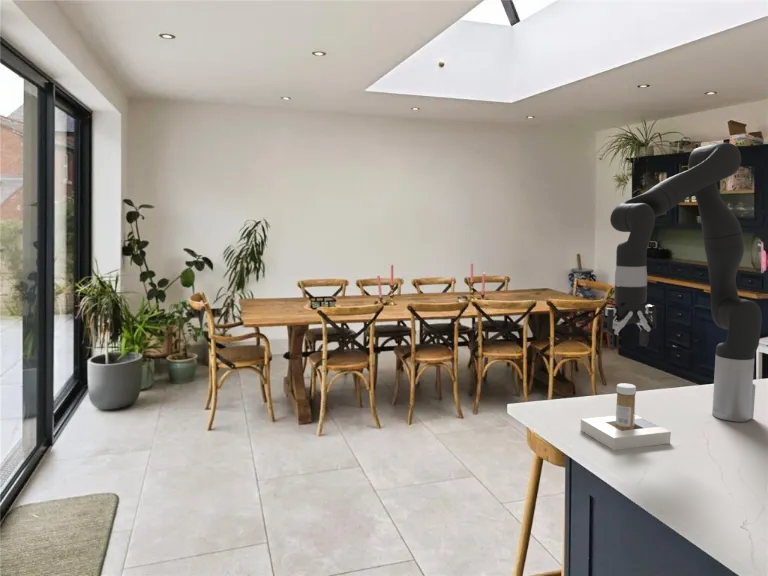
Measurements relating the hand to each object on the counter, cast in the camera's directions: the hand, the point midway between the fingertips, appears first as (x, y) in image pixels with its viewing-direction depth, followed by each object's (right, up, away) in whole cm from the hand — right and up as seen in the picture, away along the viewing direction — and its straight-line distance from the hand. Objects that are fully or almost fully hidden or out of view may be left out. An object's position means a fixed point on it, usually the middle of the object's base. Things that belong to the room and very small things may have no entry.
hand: (628, 346), depth 151 cm
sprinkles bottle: (-1, -23, 0) cm, 23 cm away
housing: (-1, -23, 0) cm, 23 cm away
